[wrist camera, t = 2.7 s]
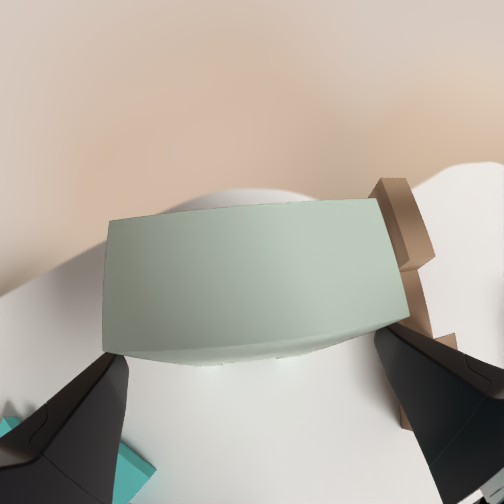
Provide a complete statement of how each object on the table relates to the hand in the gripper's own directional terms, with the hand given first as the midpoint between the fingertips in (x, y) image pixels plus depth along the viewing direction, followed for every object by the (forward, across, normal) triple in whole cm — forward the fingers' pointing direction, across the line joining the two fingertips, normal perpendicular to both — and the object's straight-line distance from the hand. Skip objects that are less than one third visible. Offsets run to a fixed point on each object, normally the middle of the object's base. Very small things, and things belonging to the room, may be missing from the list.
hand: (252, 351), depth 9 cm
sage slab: (+7, 0, +5) cm, 9 cm away
